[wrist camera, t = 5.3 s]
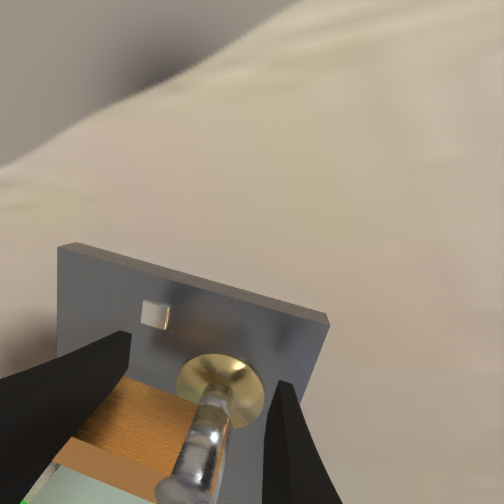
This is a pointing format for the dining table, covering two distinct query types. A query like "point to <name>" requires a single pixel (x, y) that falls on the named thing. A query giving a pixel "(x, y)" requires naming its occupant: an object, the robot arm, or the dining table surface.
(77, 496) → the cover
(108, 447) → the t key
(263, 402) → the latch plate
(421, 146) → the dining table surface
